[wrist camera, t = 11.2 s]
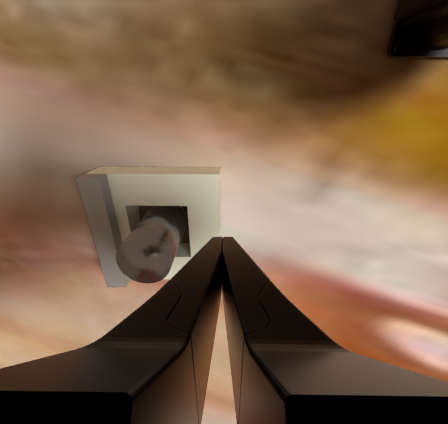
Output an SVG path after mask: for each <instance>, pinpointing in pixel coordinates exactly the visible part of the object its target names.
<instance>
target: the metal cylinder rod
mask: <svg viewBox="0 0 448 424" xmlns="http://www.w3.org/2000/svg"><path fill="white" fill-rule="evenodd" d="M186 225H187V216H186V213H185V211H184V210H183V209H182V208H181V207H180V206H152V207H151V208H150V209H149V211H148V212H147V213H146V214H145V216H144V217H143V218H142V219H141V221H140V222H139V223H138V224H137V226H136V227H135V228H134V229H133V231H132V232H131V233H130V234H129V236H128V237H127V238H126V239H125V241H124V242H123V243H122V244H121V246H120V247H119V248H118V250H117V253H116V262H117V265H118V267H119V269H120V270H121V271H122V272H123V273H124V274H125V275H126V276H127V277H129V278H130V279H132V280H135V281H137V282H141V283H155V282H158V281H160V280H162V279H164V278H165V277H166V276H167V275H168V273H169V272H170V269H171V266H172V264H173V261H174V258H175V255H176V253H177V250H178V247H179V244H180V242H181V239H182V236H183V233H184V231H185V228H186Z"/></svg>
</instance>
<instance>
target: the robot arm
mask: <svg viewBox="0 0 448 424" xmlns="http://www.w3.org/2000/svg"><path fill="white" fill-rule="evenodd" d="M394 20H395V23H394V27H393V30H392V34H391V38H390V42H389V46H388V50H387V54H388V56H389V57H391V58H448V0H399V1H398V5H397V8H396V12H395V16H394ZM395 46H398V51H397V52H395ZM221 292H222V293H223V303H224V312H225V321H226V330H227V339H228V348H229V357H230V366H231V375H232V383H233V392H234V401H235V410H236V419H237V424H448V382H447V381H443V380H440V379H436V378H433V377H430V376H427V375H424V374H420V373H417V372H414V371H411V370H408V369H404V368H401V367H398V366H395V365H391V364H388V363H385V362H382V361H379V360H375V359H372V358H369V357H366V356H363V355H359V354H356V353H354V352H351V351H349V350H347V349H345V348H344V347H342V346H340V345H339V344H337V343H336V342H335V341H333V340H332V339H331V338H330V337H329V336H328V335H326V334H325V333H324V332H323V331H322V330H321V329H320V328H319V327H318V326H317V325H315V324H314V323H313V322H312V321H311V320H310V319H309V318H308V317H307V316H305V315H304V314H303V313H302V312H301V311H300V310H299V309H298V308H297V307H296V306H295V305H294V304H292V303H291V302H290V301H289V300H288V299H287V298H286V297H285V296H284V295H283V294H282V293H281V291H280V290H279V289H278V288H277V287H276V286H275V285H274V284H273V283H272V281H270V279H269V278H268V277H267V276H266V275H265V274H264V272H263V271H262V270H261V269H260V268H259V267H258V265H257V264H256V263H255V262H254V261H253V260H252V259H251V257H250V256H249V255H248V254H247V253H246V252H245V251H244V249H243V248H242V247H241V246H240V245H239V244H238V243H237V241H236V240H235V239H234V238H233V237H223V238H222V237H212V238H211V239H210V240H209V241H208V242H207V243H206V244H205V245H204V246H203V247H202V248H201V249H200V250H199V251H198V252H197V253H196V254H195V255H194V256H193V257H192V258H191V259H190V260H189V261H188V262H187V263H186V264H185V265H184V266H183V267H182V268H181V269H180V270H179V271H178V272H177V273H176V274H175V275H174V276H173V277H172V278H171V280H169V281H168V282H167V283H166V284H165V285H164V286H163V287H162V288H161V289H160V290H159V291H158V292H157V293H156V294H154V295H153V296H152V297H151V298H150V299H149V300H147V301H146V302H145V303H144V304H143V305H142V306H140V307H139V308H138V309H137V310H135V311H134V312H133V313H132V314H130V315H129V316H128V317H127V318H125V319H124V320H123V321H122V322H120V323H119V324H118V325H117V326H116V327H114V328H113V329H112V330H111V331H109V332H108V333H107V334H105V335H104V336H103V337H101V338H100V339H98V340H97V341H95V342H93V343H91V344H89V345H87V346H85V347H82V348H79V349H76V350H72V351H68V352H64V353H60V354H56V355H52V356H48V357H44V358H40V359H37V360H33V361H29V362H25V363H21V364H17V365H13V366H9V367H5V368H1V369H0V424H201V420H202V414H203V408H204V401H205V395H206V388H207V382H208V376H209V369H210V363H211V357H212V350H213V344H214V337H215V331H216V325H217V318H218V312H219V306H220V299H221Z"/></svg>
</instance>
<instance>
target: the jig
mask: <svg viewBox="0 0 448 424" xmlns="http://www.w3.org/2000/svg"><path fill="white" fill-rule="evenodd" d="M75 179H76V182H77V185H78V189H79V192H80V196H81V199H82V202H83V206H84V209H85V213H86V216H87V219H88V223H89V226H90V230H91V233H92V236H93V240H94V243H95V247H96V250H97V253H98V257H99V260H100V264H101V267H102V270H103V274H104V277H105V281H106V284H107V287H126V286H127V284H128V282H129V281H130V278H129V277H127V276H126V275H125V274H124V273H123V272H122V271H121V270H120V269H119V267H118V265H117V262H116V253H117V250H118V248H119V247H120V246H121V244H122V243H123V242H124V241H125V239H126V238H127V237H128V236H129V234H130V233H131V232H132V231H133V229H134V228H135V227H136V226H137V224H138V223H139V222H140V221H141V219H140V214H139V208H138V206H187V210H188V223H189V237H190V243H180V244H179V247H178V250H177V253H176V255H175V258H174V261H173V264H172V266H171V269H170V272H169V273H168V275H167V276H166V277H165V278H164V279H171V278H172V277H173V276H174V275H175V274H176V273H177V272H178V271H179V270H180V269H181V268H182V267H183V266H184V265H185V264H186V263H187V262H188V261H189V260H190V259H191V258H192V257H193V256H194V255H195V254H196V253H197V252H198V251H199V250H200V249H201V248H202V247H203V246H204V245H205V244H206V243H207V242H208V241H209V240H210V239H211V238H212V237H221V216H220V167H99V168H97V169H94V170H92V171H90V172H87V173H85V174H83V175H80V176H78V177H76V178H75Z"/></svg>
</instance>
